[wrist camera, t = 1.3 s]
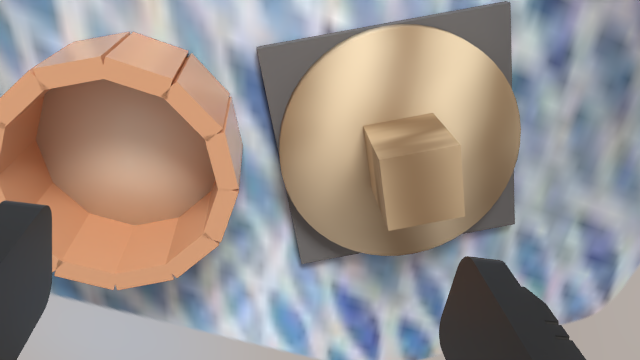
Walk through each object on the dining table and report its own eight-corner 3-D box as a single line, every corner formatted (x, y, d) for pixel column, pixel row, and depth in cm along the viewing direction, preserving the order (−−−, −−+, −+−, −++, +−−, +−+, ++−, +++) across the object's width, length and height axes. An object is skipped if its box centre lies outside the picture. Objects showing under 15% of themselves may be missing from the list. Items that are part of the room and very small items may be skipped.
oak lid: (510, 2, 31) (564, 21, 26) (514, 223, 37) (559, 278, 32) (256, 49, 31) (255, 78, 25) (301, 263, 37) (308, 325, 31)
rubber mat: (505, 1, 32) (510, 2, 31) (511, 219, 38) (514, 224, 37) (256, 46, 32) (256, 49, 31) (301, 259, 38) (301, 264, 37)
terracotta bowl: (212, 16, 31) (201, 37, 25) (258, 211, 36) (257, 263, 30) (-10, 56, 31) (-69, 87, 25) (68, 246, 36) (32, 306, 30)
